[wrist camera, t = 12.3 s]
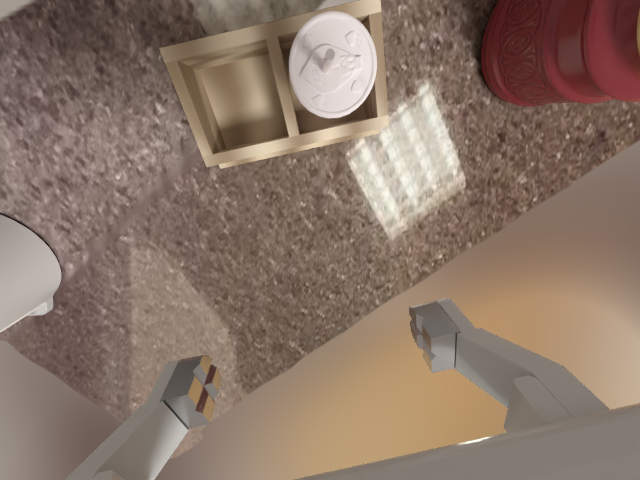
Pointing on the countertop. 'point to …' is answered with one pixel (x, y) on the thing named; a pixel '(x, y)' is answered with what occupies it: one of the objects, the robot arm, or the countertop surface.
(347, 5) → the wooden divided tray
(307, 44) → the smoothie
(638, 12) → the canister
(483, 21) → the countertop surface
